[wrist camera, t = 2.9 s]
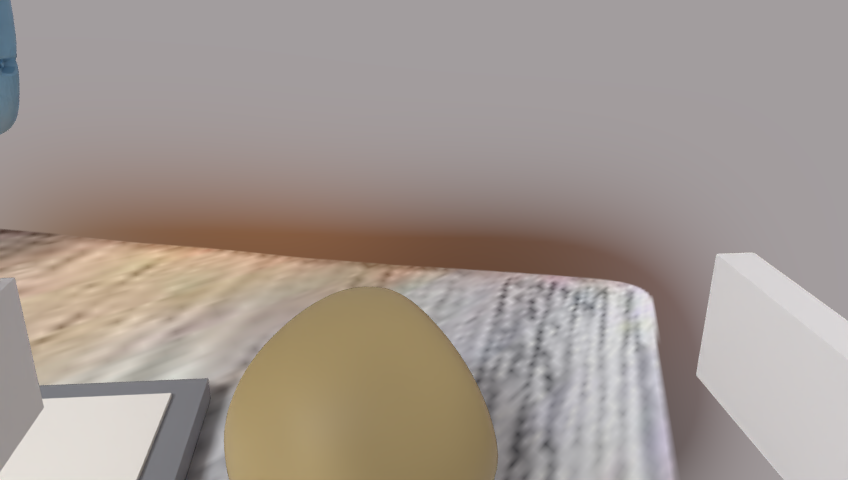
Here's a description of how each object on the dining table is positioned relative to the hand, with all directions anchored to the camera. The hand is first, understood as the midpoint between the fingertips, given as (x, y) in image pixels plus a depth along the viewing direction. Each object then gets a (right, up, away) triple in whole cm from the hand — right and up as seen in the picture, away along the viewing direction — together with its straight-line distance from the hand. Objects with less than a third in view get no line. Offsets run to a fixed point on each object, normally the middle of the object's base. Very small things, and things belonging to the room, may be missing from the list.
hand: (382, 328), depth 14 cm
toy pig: (-1, -10, +15) cm, 19 cm away
